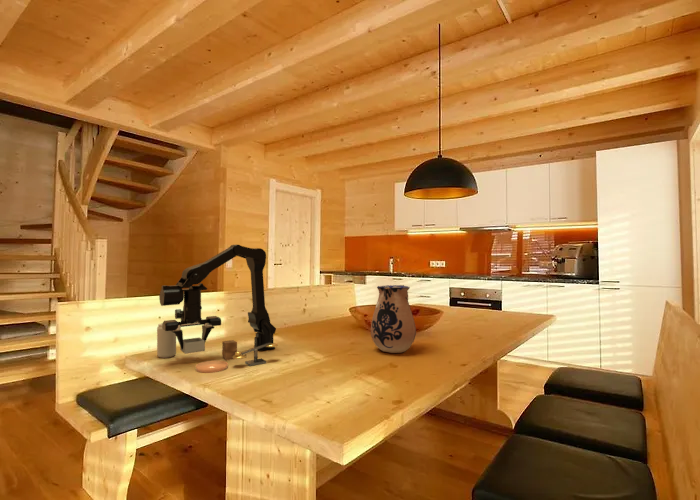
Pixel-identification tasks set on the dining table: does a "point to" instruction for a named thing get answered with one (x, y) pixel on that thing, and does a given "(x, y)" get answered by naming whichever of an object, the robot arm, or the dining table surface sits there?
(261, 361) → the balance
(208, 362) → the dish
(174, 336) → the beverage can
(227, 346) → the block
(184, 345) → the collar
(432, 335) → the dining table surface
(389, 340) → the ceramic pitcher
